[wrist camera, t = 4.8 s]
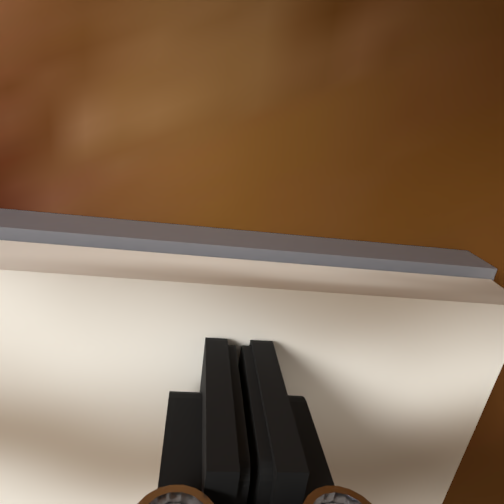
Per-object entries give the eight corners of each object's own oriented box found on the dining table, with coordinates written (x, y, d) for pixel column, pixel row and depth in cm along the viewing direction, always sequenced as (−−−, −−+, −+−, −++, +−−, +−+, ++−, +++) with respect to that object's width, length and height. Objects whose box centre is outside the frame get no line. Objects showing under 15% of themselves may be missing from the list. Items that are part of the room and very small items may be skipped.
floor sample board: (-78, 201, 11) (-168, 238, 9) (467, 250, 14) (535, 291, 11) (-23, 593, 17) (-67, 693, 14) (360, 579, 19) (387, 663, 16)
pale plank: (-106, 231, 10) (-157, 258, 8) (490, 279, 12) (528, 306, 11) (-49, 518, 13) (-78, 570, 12) (399, 513, 16) (418, 556, 14)
